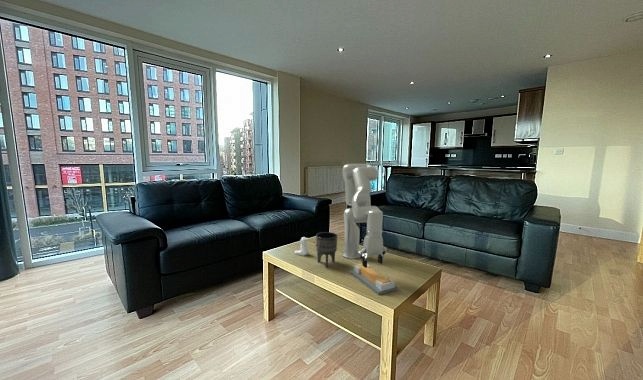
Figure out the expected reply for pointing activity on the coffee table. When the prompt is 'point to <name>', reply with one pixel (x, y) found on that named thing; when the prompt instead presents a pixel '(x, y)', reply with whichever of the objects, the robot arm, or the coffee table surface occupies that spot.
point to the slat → (371, 274)
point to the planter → (326, 245)
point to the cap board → (378, 287)
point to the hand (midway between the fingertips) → (372, 265)
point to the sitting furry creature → (303, 247)
